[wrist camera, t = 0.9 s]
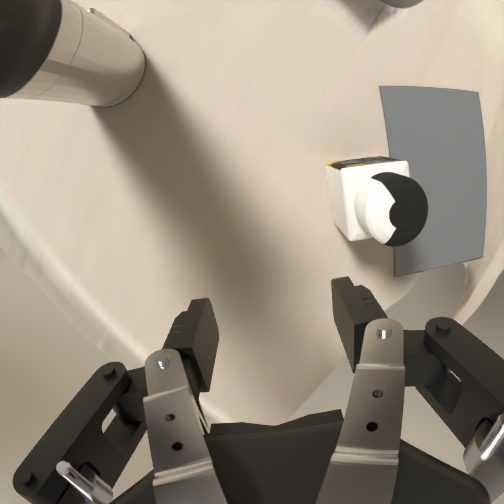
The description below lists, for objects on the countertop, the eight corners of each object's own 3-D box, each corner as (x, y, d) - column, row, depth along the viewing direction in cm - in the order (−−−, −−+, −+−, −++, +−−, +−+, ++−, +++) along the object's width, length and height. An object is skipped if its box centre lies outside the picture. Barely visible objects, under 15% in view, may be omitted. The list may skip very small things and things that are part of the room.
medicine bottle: (381, 155, 31) (435, 165, 20) (387, 213, 34) (437, 247, 23) (324, 163, 32) (357, 175, 21) (332, 223, 35) (365, 263, 23)
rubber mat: (378, 86, 28) (379, 85, 28) (477, 92, 27) (478, 92, 27) (394, 275, 37) (395, 276, 36) (481, 256, 35) (482, 256, 35)
